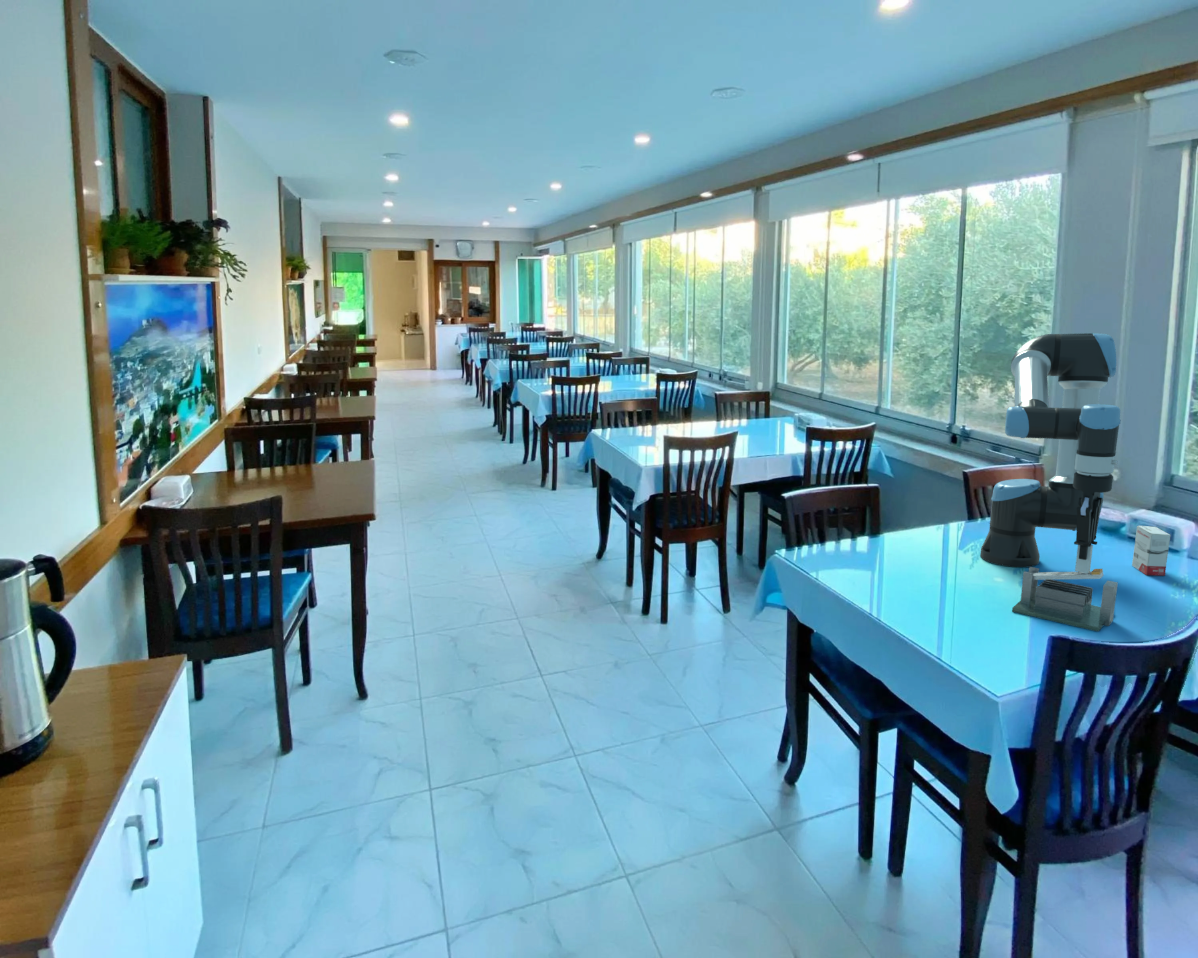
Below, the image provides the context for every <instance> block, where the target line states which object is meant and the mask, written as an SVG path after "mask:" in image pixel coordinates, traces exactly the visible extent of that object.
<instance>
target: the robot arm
mask: <svg viewBox="0 0 1198 958" xmlns="http://www.w3.org/2000/svg"><path fill="white" fill-rule="evenodd" d="M1010 371H1011V374H1012V376H1013V377H1014V406H1010V407H1008V408H1007V409H1006V415H1005V425H1004V426H1005V427H1004V433H1005V435H1006V436H1007V437H1012V438H1020V439H1025V438H1026V439H1046V440H1047V439H1052V440H1058V448H1057V459H1056V469H1055V470H1056V471H1055V475H1054V476H1053V477H1051V478H1050V479H1048V486H1043V485H1042V484H1041V483H1040V481H1039V480H1036V479H1030V478H1016V479H1015V478H1014V479H1006V480H1002V481H999V482H997V483H995V485H993V486H994V487H993V490H992V495H991V508H990V509H991V510H990V511H991V512H990V519H989V520H990V521H989V530H988V534H987V535H986V537H985V539H984V541H983V542H982V545H981V547H980V555H979V556H980V558H981V559H983V560H984V561H986V562H989V563H992V564H995V565H1000V566H1004V567H1012V568H1029V567H1035V566H1038V564H1039V563H1040V558H1041V557H1040V555H1041V554H1040V551H1039V547H1038V544H1037V541H1036V540H1037V539H1036V537H1035V535H1036V528H1045V529H1056V530H1057V529H1058V530H1065V531H1066V530H1067V531H1068V530H1069V531H1073V532H1075V531H1076V535H1075V536H1076V538H1075V541H1074V542H1073V544H1074V545H1077V551H1076V558H1075V559H1076V560H1075V569H1074V572H1083V573H1089V572H1090V571H1091V565H1092V557H1093V548H1094V545H1095V546H1096V545H1098V541H1096V539H1097V531H1098V528H1099V521H1100V516H1101V512H1102V508H1103V502H1104V495H1105V494H1104V493H1109V492H1110V491H1112V489H1113V488H1112V487H1113V481H1114V480H1113V479H1114V476H1113V475H1112V474H1113V473H1114V470H1115V465H1118V460H1116V459H1115V458H1116V453H1117V451H1116V450H1117V443H1118V439H1119V438H1118V436H1119V429H1120V424H1121V408H1120V407H1119V406H1117V405H1112V404H1104V403H1100V398H1101V390H1102V389H1103V388H1104V387H1105V386H1106V385H1108V383H1109V382H1108V381H1109V378H1113V377H1115V375H1116V373H1117V351H1116V343H1115V340H1114V338H1113V337H1112V336H1111V335H1110V334H1108V333H1107V334H1106V333H1093V332H1091V333H1087V332H1086V333H1046V334H1041V335H1038V336H1035V337H1033V338H1031V339H1029V340H1028V341H1026V342H1024V343H1023V344H1021V346H1020V347H1019V348H1018V349H1017V350H1016V351H1015V353H1014V354H1013V356H1012V358H1011V363H1010ZM1048 377H1058V379H1057V383H1058V384H1059V386H1060V387H1061V388H1062V389H1063V393H1062V406H1061V407H1050V405H1049V402H1050V401H1049V387H1048V386H1049V385H1048Z"/></svg>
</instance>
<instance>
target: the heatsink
mask: <svg viewBox="0 0 1198 958" xmlns="http://www.w3.org/2000/svg"><path fill="white" fill-rule="evenodd" d="M1031 572H1034V573H1036V572H1040V568H1037V567H1035V566H1030V567H1028V571H1025V570H1024V571H1023V574H1022V586H1021V594H1020V600H1019V601H1018V602H1017V603H1016V604H1015V605H1014V606H1013V607H1012V609H1011V611H1012V613H1016V614H1020V615H1025V616H1028V617H1034V618H1039V619H1041V620H1047V621H1051V622H1056V623H1060V624H1064V625H1068V626H1072V627H1077V628H1080V629H1084V630H1085V629H1086V630H1089V631H1093V632H1097V633H1098V632H1099V631H1101V629H1102V628H1103V626H1106V627H1110V625H1111V624H1113V621H1114V613H1115V609H1116V608H1115V606H1116V601H1117V592H1118V582H1116V581H1112V580H1106V582H1105V583H1104V584H1103V585H1102V586H1103V587H1102V593H1101V594H1102V595H1101V602H1100V603H1101V604H1100V606H1098V605H1094V604H1093V605H1092V601H1093V591H1094V588H1093V587H1091V586H1085V585H1081V584H1075V583H1069V582H1064V581H1060V580H1057V579H1046V580H1042V582H1041V583H1039V580H1033V575H1034V573H1031ZM1038 583H1039V584H1038Z"/></svg>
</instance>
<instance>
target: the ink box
mask: <svg viewBox="0 0 1198 958" xmlns="http://www.w3.org/2000/svg"><path fill="white" fill-rule="evenodd" d="M1135 533H1136V534H1135V540H1134V547H1133V548H1134V549H1133V553H1132V554H1133V557H1132V562H1131V566H1132V567H1134V568H1135V569H1137V571H1139V572H1140V573H1142V574H1143V575H1145V576H1160V577H1163V576H1166V570H1167V562H1168V556H1169V555H1168V554H1169V549H1170V542H1171V541H1170V540H1171V534H1169V533H1167V532H1166V531H1164V530H1162V529H1161V528H1158V527H1157V526H1147V525H1138V526H1136V532H1135Z"/></svg>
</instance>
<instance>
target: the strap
mask: <svg viewBox="0 0 1198 958" xmlns="http://www.w3.org/2000/svg"><path fill="white" fill-rule="evenodd" d="M1031 573H1034V572H1031ZM1103 577H1104V571H1103V568H1094V569H1092V571H1091V570H1090V572H1089V573H1083V572H1078V571H1046V572H1044V571H1043V572H1041V571H1039V572H1036V573H1034V575H1033V580H1038V581H1040V580H1042V581H1044V580H1046V579H1051V580H1097V579H1098V580H1100V579H1102V578H1103Z"/></svg>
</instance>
